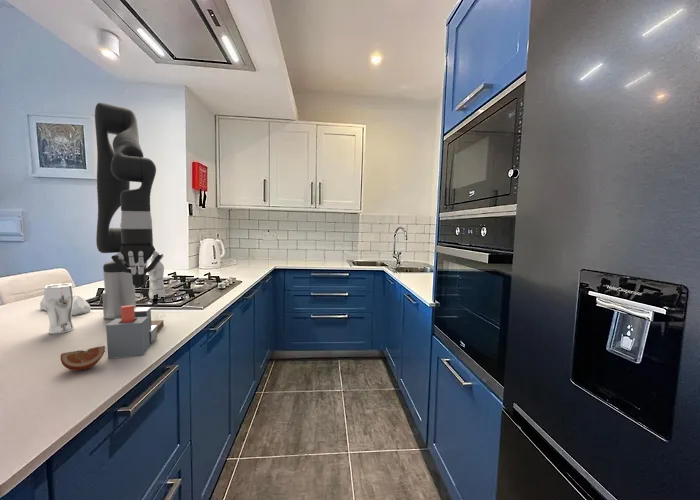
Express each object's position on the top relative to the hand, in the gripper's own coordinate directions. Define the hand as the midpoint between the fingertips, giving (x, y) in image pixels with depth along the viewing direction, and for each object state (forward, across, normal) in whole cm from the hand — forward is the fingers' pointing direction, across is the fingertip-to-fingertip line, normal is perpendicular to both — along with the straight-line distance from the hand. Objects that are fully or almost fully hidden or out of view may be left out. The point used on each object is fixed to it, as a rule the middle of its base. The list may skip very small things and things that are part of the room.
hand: (139, 286), depth 92 cm
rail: (+17, 0, -6) cm, 18 cm away
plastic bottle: (+17, +10, -56) cm, 59 cm away
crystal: (+18, +39, -45) cm, 62 cm away
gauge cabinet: (+17, +1, +7) cm, 18 cm away
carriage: (+17, 0, 0) cm, 17 cm away
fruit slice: (+17, +8, +15) cm, 24 cm away
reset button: (+11, +1, +7) cm, 13 cm away
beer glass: (+17, +28, -18) cm, 37 cm away
